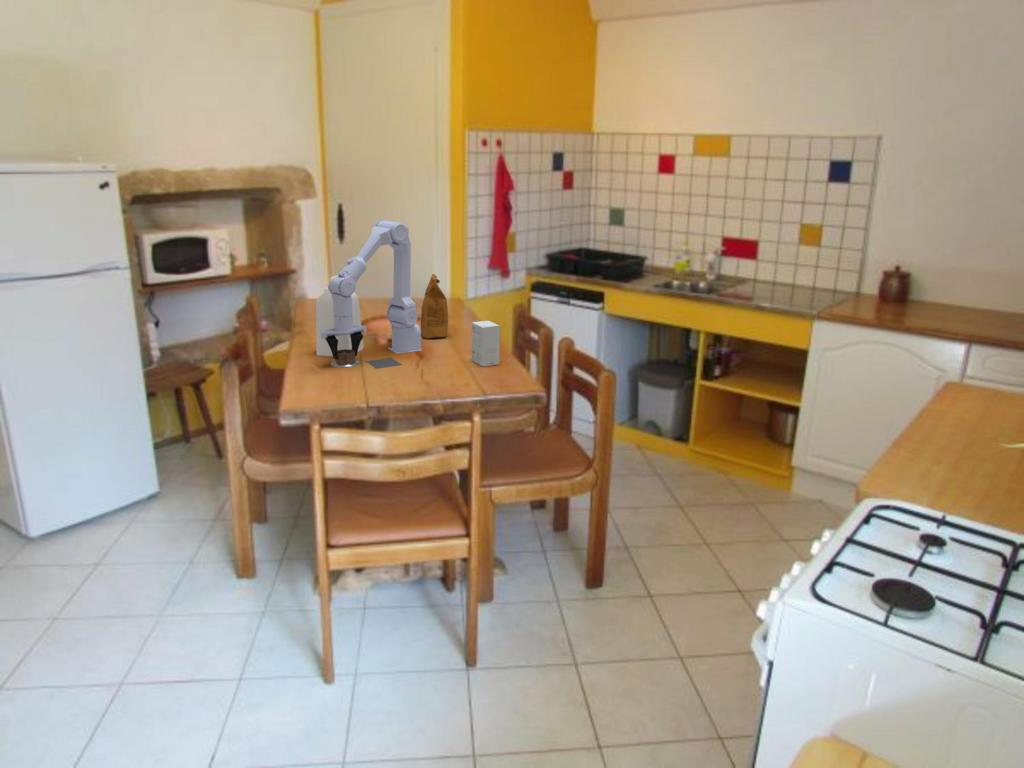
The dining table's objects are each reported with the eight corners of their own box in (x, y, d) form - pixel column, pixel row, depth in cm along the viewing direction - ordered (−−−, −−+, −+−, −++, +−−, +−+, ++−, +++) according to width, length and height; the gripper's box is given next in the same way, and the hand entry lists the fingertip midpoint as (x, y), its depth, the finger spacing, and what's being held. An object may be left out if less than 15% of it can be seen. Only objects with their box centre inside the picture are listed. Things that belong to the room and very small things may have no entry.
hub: (353, 360, 244) (353, 347, 242) (364, 367, 236) (363, 354, 235) (327, 363, 239) (326, 351, 238) (336, 371, 232) (336, 358, 231)
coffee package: (446, 330, 283) (446, 272, 276) (449, 339, 271) (448, 279, 264) (420, 331, 281) (419, 273, 274) (421, 339, 270) (420, 279, 263)
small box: (499, 364, 243) (500, 325, 238) (482, 367, 240) (482, 327, 235) (488, 358, 249) (488, 320, 245) (471, 360, 246) (471, 321, 242)
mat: (391, 359, 245) (391, 357, 245) (402, 366, 238) (402, 364, 238) (365, 363, 241) (365, 361, 240) (376, 370, 234) (376, 368, 233)
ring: (358, 363, 237) (357, 352, 236) (341, 366, 233) (340, 355, 232) (350, 358, 241) (349, 348, 240) (333, 361, 238) (332, 351, 237)
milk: (349, 359, 244) (345, 280, 236) (316, 356, 246) (311, 278, 238) (363, 350, 255) (360, 274, 247) (332, 347, 257) (327, 272, 249)
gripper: (359, 310, 240) (360, 350, 244) (315, 315, 232) (318, 357, 236) (368, 314, 234) (370, 356, 239) (324, 319, 226) (327, 362, 230)
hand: (345, 357), depth 237 cm, fingers closed on ring, 6 cm apart
